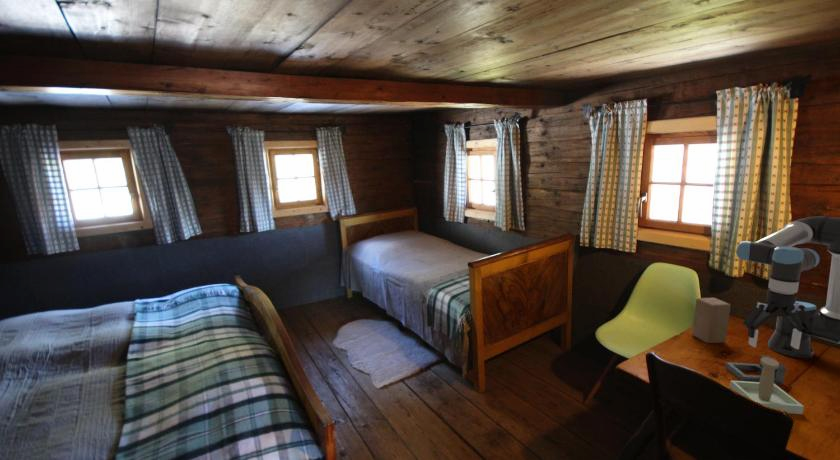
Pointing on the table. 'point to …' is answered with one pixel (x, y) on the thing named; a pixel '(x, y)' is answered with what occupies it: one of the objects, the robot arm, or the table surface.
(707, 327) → the wooden block
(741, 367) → the socket
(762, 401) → the tray
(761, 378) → the handle
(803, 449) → the table surface
